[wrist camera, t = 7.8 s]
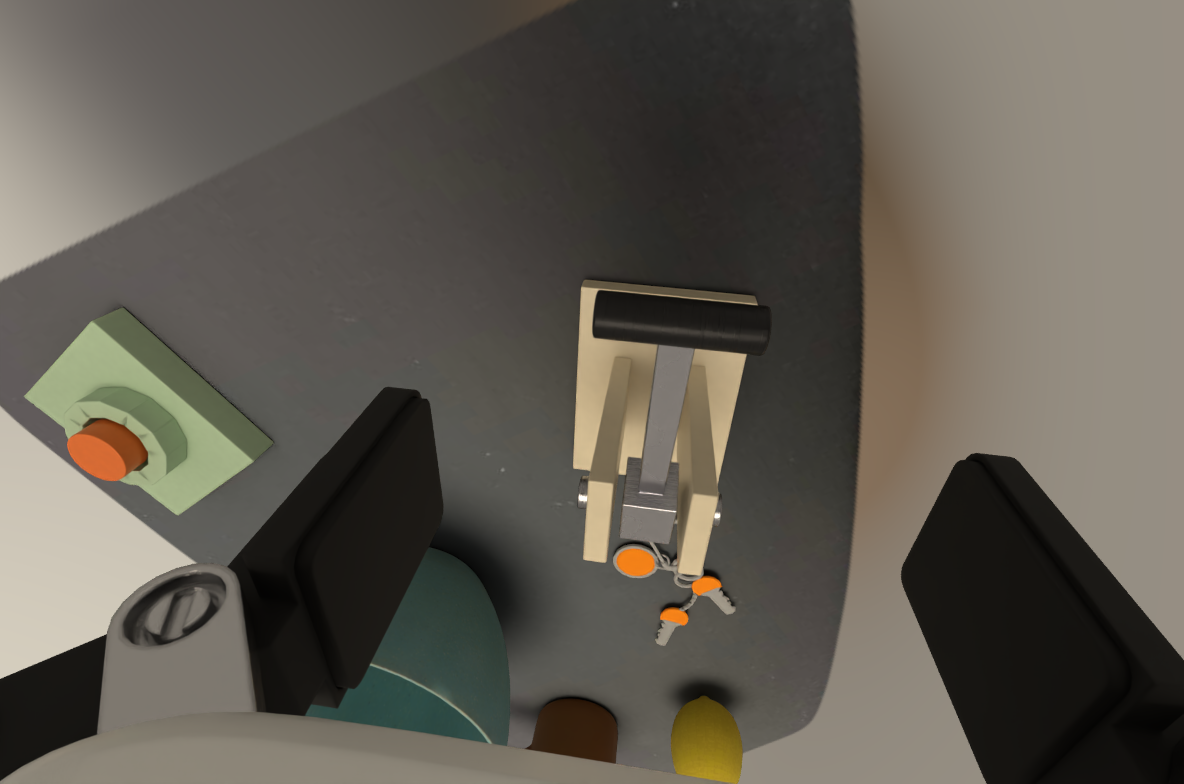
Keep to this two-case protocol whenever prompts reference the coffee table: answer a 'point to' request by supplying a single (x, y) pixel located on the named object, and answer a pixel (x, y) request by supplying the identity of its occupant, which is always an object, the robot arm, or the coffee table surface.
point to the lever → (670, 386)
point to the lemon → (706, 742)
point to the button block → (150, 409)
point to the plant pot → (436, 661)
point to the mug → (576, 731)
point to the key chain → (645, 562)
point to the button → (107, 450)
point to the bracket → (618, 419)
